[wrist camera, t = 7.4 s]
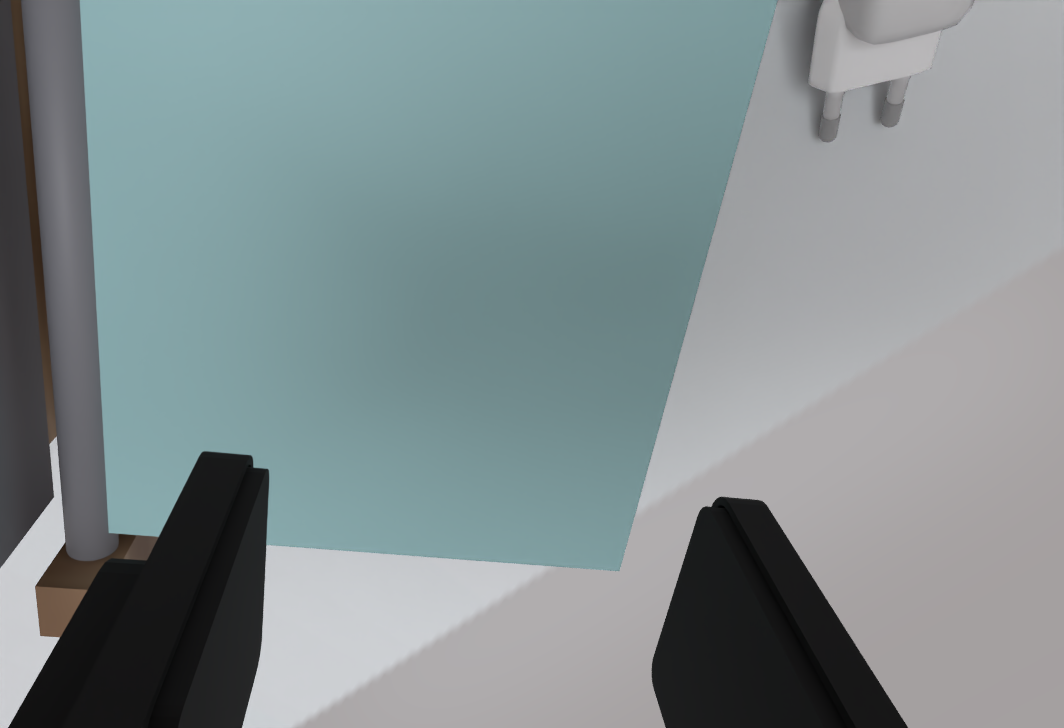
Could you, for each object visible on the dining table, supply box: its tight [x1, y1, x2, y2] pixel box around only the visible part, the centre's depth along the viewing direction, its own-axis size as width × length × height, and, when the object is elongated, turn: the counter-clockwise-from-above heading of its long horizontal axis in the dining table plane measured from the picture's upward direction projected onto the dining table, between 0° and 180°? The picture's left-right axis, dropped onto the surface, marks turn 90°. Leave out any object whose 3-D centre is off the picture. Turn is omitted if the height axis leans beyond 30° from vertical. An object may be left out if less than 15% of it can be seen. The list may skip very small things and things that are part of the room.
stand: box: [10, 0, 158, 637], centre depth 21 cm, size 18×20×16 cm
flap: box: [0, 0, 778, 571], centre depth 16 cm, size 18×16×6 cm
